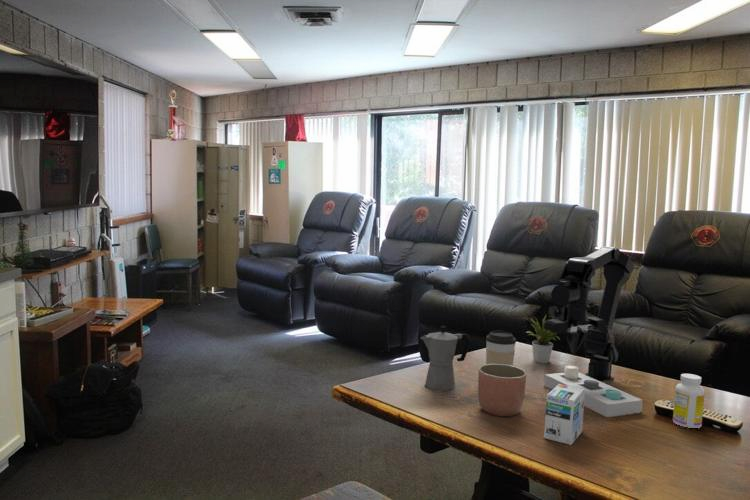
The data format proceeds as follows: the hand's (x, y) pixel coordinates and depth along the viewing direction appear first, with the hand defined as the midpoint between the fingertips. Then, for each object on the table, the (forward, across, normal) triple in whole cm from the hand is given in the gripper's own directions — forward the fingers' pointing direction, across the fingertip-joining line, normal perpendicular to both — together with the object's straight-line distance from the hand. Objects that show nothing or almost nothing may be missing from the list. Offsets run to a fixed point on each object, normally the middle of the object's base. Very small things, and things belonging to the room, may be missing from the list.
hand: (573, 353), depth 179 cm
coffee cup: (+11, +17, -13) cm, 24 cm away
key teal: (+10, 0, +17) cm, 20 cm away
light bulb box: (+11, +25, +27) cm, 39 cm away
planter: (+11, +31, +9) cm, 34 cm away
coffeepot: (+11, +36, -13) cm, 40 cm away
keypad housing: (+11, 0, +8) cm, 14 cm away
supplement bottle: (+11, -11, +32) cm, 35 cm away
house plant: (+11, -9, -28) cm, 31 cm away
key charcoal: (+10, 0, +8) cm, 13 cm away
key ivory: (+8, 0, 0) cm, 8 cm away
